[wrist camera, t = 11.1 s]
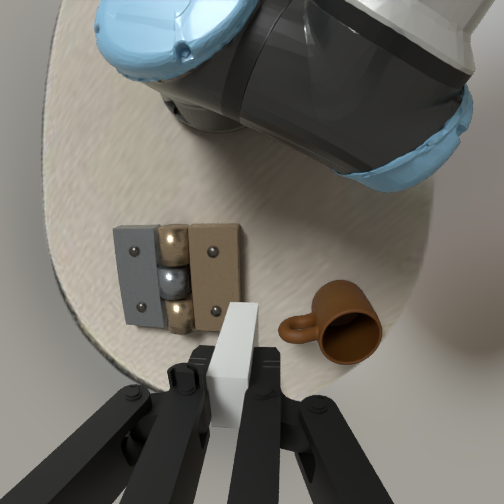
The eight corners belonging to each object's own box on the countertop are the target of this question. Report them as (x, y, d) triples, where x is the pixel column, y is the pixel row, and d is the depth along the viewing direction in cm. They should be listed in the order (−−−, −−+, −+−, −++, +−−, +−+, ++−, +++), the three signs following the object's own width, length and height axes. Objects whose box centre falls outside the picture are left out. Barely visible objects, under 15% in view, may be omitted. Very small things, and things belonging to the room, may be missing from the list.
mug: (278, 330, 44) (278, 369, 35) (277, 279, 42) (277, 310, 33) (361, 326, 43) (378, 363, 34) (366, 276, 41) (387, 306, 32)
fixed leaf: (163, 224, 41) (153, 230, 38) (239, 223, 41) (235, 230, 37) (173, 320, 45) (164, 333, 41) (241, 323, 44) (238, 337, 41)
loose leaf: (121, 225, 42) (107, 231, 38) (188, 224, 41) (179, 230, 37) (133, 316, 46) (122, 329, 42) (195, 321, 45) (188, 335, 41)
